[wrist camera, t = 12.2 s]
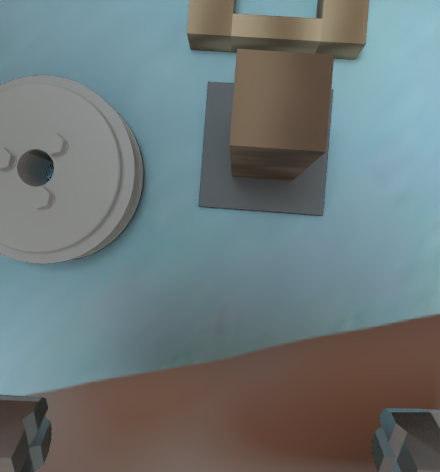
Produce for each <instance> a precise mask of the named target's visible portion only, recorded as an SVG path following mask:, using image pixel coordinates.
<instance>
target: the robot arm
mask: <svg viewBox="0 0 440 472" xmlns="http://www.w3.org/2000/svg"><path fill="white" fill-rule="evenodd" d="M47 410H48V405H47V402H46V398H43V397H28V396H11V395H0V472H35V471H36V470H37V469H39V468H40V467H41V466H42V465H43V464H44V462H45V460H46V457H47V454H48V452H49V447H50V442H51V422H50V421H49V420H48V419H47V418H46V417H45V414H46V412H47ZM379 420H380V423H381V425H382V427H381V428H379V429H378V430H377V431H375V433H374V437H373V440H372V454H373V458H374V463H375V466H376V469H377V471H378V472H440V410H424V409H391V408H385V409H384V410H383V411H382V412H381V415H380V418H379Z"/></svg>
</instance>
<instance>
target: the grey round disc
mask: <svg viewBox="0 0 440 472" xmlns="http://www.w3.org/2000/svg"><path fill="white" fill-rule="evenodd" d="M52 163H53V164H54V172H53V175H52V177H51V179H50V180H49V181H48V182H47V181H46V172H47V169H48V167H49V166H50V165H51V164H52ZM142 185H143V165H142V158H141V154H140V149H139V146H138V144H137V141H136V139H135V136H134V135H133V133H132V131H131V129H130V128H129V126H128V125H127V123H126V122H125V121H124V119H123V118H122V117H121V116H120V115H119V114H118V113H117V112H116V111H115V110H114V109H113V108H112V107H111V106H110V105H109V104H108V103H107V102H106V101H105V100H104V99H103V98H102V97H101V96H99V95H98V94H97V93H96V92H94V91H93V90H91V89H89V88H88V87H86V86H84V85H82V84H80V83H78V82H76V81H73V80H70V79H66V78H63V77H58V76H51V75H33V76H26V77H21V78H17V79H14V80H11V81H8V82H6V83H4V84H2V85H0V254H2V255H4V256H7V257H9V258H12V259H15V260H18V261H23V262H27V263H37V264H46V263H57V262H62V261H66V260H74V259H78V258H81V257H85V256H88V255H90V254H92V253H95V252H97V251H99V250H100V249H102V248H103V247H105V246H107V245H108V244H109V243H110V242H112V241H113V240H114V239H115V238H116V237H117V236H118V235H119V234H120V233H121V232H122V231H123V230H124V229H125V227H126V226H127V224H128V223H129V221H130V220H131V218H132V216H133V214H134V212H135V210H136V208H137V205H138V202H139V199H140V196H141V191H142Z"/></svg>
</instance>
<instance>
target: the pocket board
mask: <svg viewBox="0 0 440 472" xmlns="http://www.w3.org/2000/svg"><path fill="white" fill-rule="evenodd" d="M368 8H369V0H318V5H317V18H300V17H283V16H266V15H248V14H234V12H235V0H189V13H188V26H187V35H188V40H189V44H190V48H191V49H193V50H209V51H226V52H237V49H248V50H264V51H281V52H298V53H314V54H331V55H334V58H340V59H355V58H356V57H357V56H358V54H359V53H360V51H361V50H362V48H363V47H364V46H365V44H366V33H367V20H368Z"/></svg>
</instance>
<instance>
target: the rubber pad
mask: <svg viewBox="0 0 440 472" xmlns="http://www.w3.org/2000/svg"><path fill="white" fill-rule="evenodd" d="M233 95H234V83H220V82H208V89H207V102H206V115H205V129H204V142H203V155H202V168H201V182H200V195H199V206H201V207H214V208H228V209H241V210H254V211H268V212H281V213H294V214H308V215H323V210H324V197H325V185H326V173H327V160H328V148H329V136H330V123H331V111H332V98H333V90H331V97H330V109H329V122H328V134H327V147H326V152H325V153H324V154H323V155H322V156H321V157H319V158H318V159H317V160H316V161H315V162H314V163H312V164H311V165H310V166H309V167H308V168H307V169H306V170H304V171H303V172H302V173H301V174H300V175H299V176H297V177H296V178H295V179H294V180H293V181H291V180H277V179H263V178H249V177H235V176H232V173H231V158H230V135H231V121H232V108H233Z"/></svg>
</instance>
